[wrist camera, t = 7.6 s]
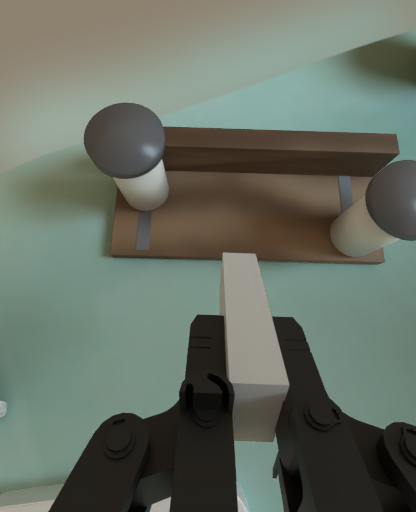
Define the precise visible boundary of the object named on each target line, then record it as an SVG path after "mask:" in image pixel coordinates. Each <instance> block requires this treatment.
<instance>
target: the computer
mask: <svg viewBox="0 0 416 512" xmlns="http://www.w3.org/2000/svg"><path fill="white" fill-rule="evenodd" d="M236 485H237V502H238V512H249V508H248V504H247V501H246V497H245V495H244V493H243V490H242V489H241V487H240V485H239V484H238V482H237V481H236ZM63 486H64V484H57V485H49V486H42V487H34V488H26V489H18V490H11V491H7V492H4V493H1V494H0V512H48V511H49V509H50V508H51V506H52V504H53V503H54V501H55V499H56V497H57V496H58V494H59V492H60V491H61V489H62V487H63ZM170 501H171V497H169V498H167V499H164V500H162V501H159V502H157V503H154V504H152V506H151V509H150V512H169V511H170Z"/></svg>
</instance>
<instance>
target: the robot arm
mask: <svg viewBox="0 0 416 512" xmlns="http://www.w3.org/2000/svg"><path fill="white" fill-rule="evenodd" d="M275 433H276V438H277V443H278V449H279V451H278V454H277V457H276V460H275V464H274V467H273V478H277V475H278V476H279V482H280V488H281V494H282V500H283V506H284V512H416V426H413V425H410V424H407V423H404V422H394V423H392V424H390V425H388V426H387V427H386V428H385V430H384V429H381V428H378V427H375V426H372V425H369V424H366V423H364V422H361V421H358V420H356V419H354V418H351V417H349V416H348V415H346V414H345V413H343V412H342V411H341V409H340V408H339V407H338V406H337V405H336V404H335V403H334V402H333V401H332V400H331V399H330V398H329V397H328V395H327V393H326V391H325V388H324V385H323V383H322V380H321V377H320V375H319V372H318V369H317V367H316V364H315V361H314V359H313V356H312V353H311V352H310V348H309V345H308V343H307V342H306V337H305V335H304V332H303V329H302V327H301V326H300V325H299V324H298V323H297V322H296V321H295V320H294V318H293V317H272V315H271V312H270V308H269V304H268V300H267V296H266V292H265V288H264V284H263V281H262V277H261V273H260V269H259V265H258V261H257V257H256V254H250V253H223V255H222V270H221V285H220V315H197V316H196V317H195V319H194V320H193V322H192V323H191V326H190V336H189V345H188V355H187V365H186V375H185V380H184V381H183V382H182V385H181V388H180V391H179V401H178V402H177V403H176V404H175V405H174V406H173V407H172V408H170V409H169V410H168V411H165V412H163V413H161V414H158V415H155V416H152V417H148V418H145V419H142V418H140V417H139V416H137V415H135V414H133V413H121V414H117V415H114V416H112V417H110V418H109V419H107V420H106V421H104V422H103V423H102V424H101V425H100V427H99V428H98V429H97V430H96V432H95V433H94V434H93V436H92V438H91V440H90V441H89V443H88V445H87V446H86V448H85V450H84V451H83V453H82V455H81V457H80V458H79V460H78V462H77V463H76V465H75V467H74V468H73V470H72V472H71V474H70V475H69V477H68V479H67V480H66V482H65V484H64V486H63V487H62V489H61V491H60V492H59V494H58V496H57V497H56V499H55V501H54V503H53V504H52V506H51V508H50V509H49V511H48V512H150V509H151V506H152V504H154V503H157V502H159V501H162V500H164V499H167V498H169V497H171V501H170V511H169V512H238V502H237V485H236V468H235V451H234V440H235V441H262V442H273V440H274V437H275Z"/></svg>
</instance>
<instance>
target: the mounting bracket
mask: <svg viewBox="0 0 416 512" xmlns="http://www.w3.org/2000/svg"><path fill="white" fill-rule="evenodd" d="M6 412H7V402H4V401H0V418H1V417H3V416H4V415H5V414H6Z"/></svg>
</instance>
